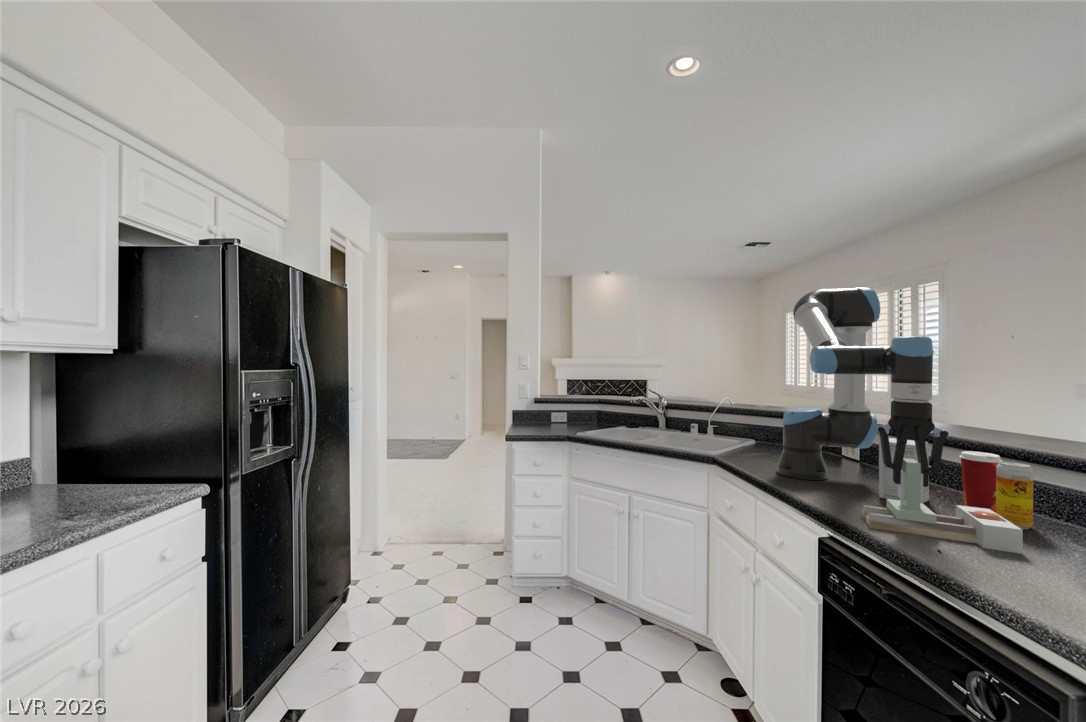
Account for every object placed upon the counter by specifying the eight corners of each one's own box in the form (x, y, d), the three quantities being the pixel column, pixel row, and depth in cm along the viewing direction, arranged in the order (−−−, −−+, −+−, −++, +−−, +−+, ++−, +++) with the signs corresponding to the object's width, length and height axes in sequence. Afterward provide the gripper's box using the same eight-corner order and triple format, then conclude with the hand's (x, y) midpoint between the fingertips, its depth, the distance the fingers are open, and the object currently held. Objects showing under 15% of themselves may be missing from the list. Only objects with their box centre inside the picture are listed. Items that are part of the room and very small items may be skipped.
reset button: (970, 527, 99) (970, 509, 99) (994, 530, 97) (994, 512, 97) (978, 533, 95) (978, 515, 95) (1003, 536, 93) (1003, 518, 93)
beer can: (1006, 528, 102) (1006, 465, 102) (989, 519, 108) (990, 460, 108) (1039, 531, 100) (1040, 468, 100) (1021, 522, 106) (1022, 462, 106)
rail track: (862, 515, 110) (862, 504, 110) (960, 529, 101) (960, 516, 101) (870, 527, 102) (870, 515, 102) (977, 543, 93) (977, 529, 93)
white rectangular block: (955, 525, 104) (955, 505, 104) (989, 530, 101) (989, 509, 101) (983, 548, 91) (983, 524, 91) (1022, 553, 88) (1022, 529, 88)
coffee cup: (1011, 515, 111) (1011, 457, 111) (974, 512, 112) (974, 456, 112) (985, 504, 119) (985, 451, 119) (950, 502, 121) (950, 449, 121)
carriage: (886, 506, 108) (886, 455, 108) (922, 511, 104) (922, 458, 104) (897, 518, 99) (897, 463, 99) (936, 523, 96) (936, 466, 96)
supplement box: (930, 500, 122) (930, 442, 122) (919, 506, 117) (920, 445, 117) (889, 491, 130) (889, 437, 130) (877, 497, 125) (878, 440, 125)
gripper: (874, 400, 102) (873, 498, 102) (961, 403, 95) (960, 508, 95) (867, 398, 109) (866, 489, 109) (948, 401, 102) (947, 499, 102)
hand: (910, 498), depth 102 cm, fingers closed on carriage, 2 cm apart
